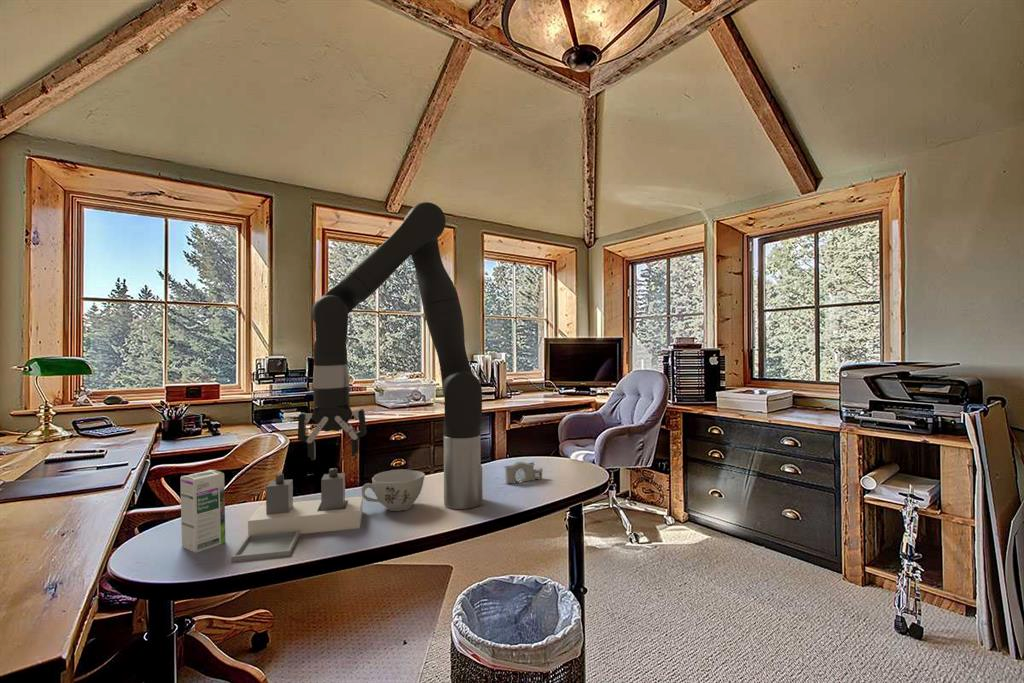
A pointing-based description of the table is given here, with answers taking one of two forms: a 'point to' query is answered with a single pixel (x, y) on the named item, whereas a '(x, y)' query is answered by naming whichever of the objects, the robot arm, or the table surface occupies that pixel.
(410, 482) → the teacup
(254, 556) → the tray
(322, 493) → the plug
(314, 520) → the power strip
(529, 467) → the garden wall model
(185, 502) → the syrup box
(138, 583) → the table surface
